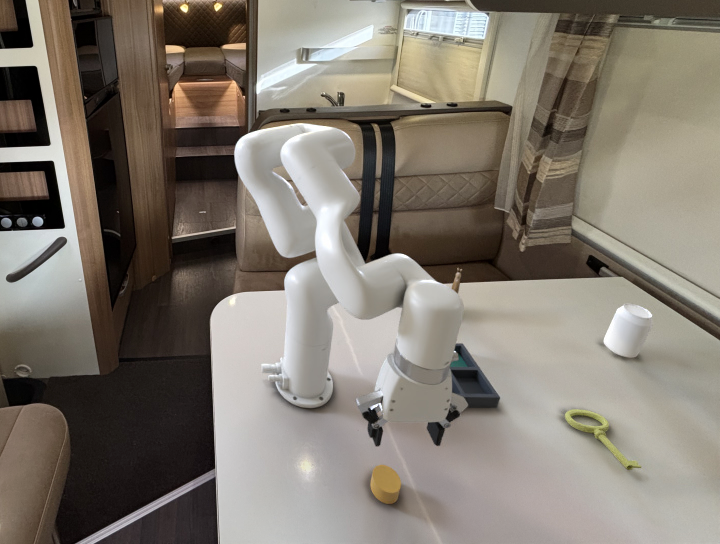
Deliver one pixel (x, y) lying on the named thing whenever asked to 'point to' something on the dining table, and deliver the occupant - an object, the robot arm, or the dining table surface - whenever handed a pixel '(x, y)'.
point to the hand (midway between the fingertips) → (403, 437)
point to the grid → (471, 381)
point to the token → (385, 484)
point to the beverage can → (628, 330)
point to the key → (599, 434)
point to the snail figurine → (456, 282)
